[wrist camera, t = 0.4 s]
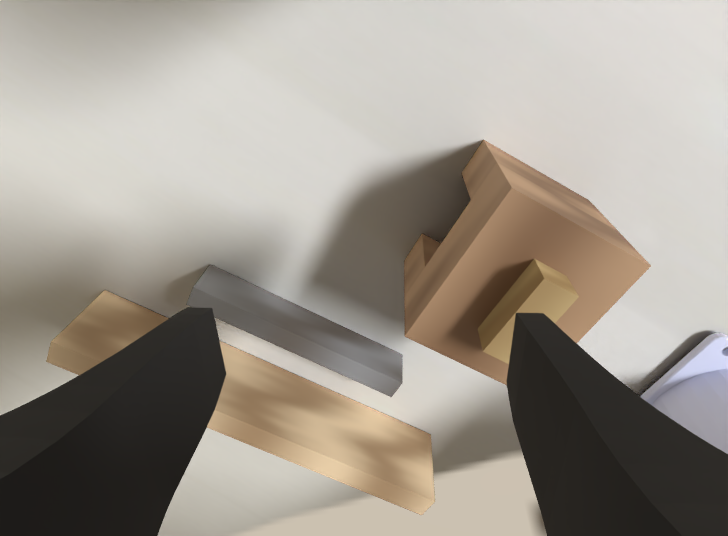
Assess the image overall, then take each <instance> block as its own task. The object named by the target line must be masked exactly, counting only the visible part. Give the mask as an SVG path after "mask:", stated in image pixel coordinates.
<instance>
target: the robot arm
mask: <svg viewBox="0 0 728 536" xmlns="http://www.w3.org/2000/svg"><path fill="white" fill-rule="evenodd" d="M726 347H728V336H727V335H725V334H723V333H714V334H711V335H709V336H708V337H706V338H705V339H704V340H703V341H702V342H701V343H700V344H698V345H697V346H696V347H695V348H694V349H693V350H692V351H690V352H689V353H688V354H687V355H686V356H685V357H684V358H683V359H681V360H680V361H679V362H678V363H677V364H676V365H675V366H674V367H672V368H671V369H670V370H669V371H668V372H667V373H666V374H665V375H663V376H662V377H661V378H660V379H659V380H658V381H657V382H656V383H654V384H653V385H652V386H651V387H650V388H649V389H648V390H646V391H645V392H644V393H643V394H642V395H641V396H639V395H637V394H636V393H635V392H633V391H632V390H631V389H630V388H628V387H627V386H626V385H624V384H623V383H622V382H621V381H619V380H618V379H617V378H616V377H614V376H613V375H612V374H611V373H610V372H608V371H607V370H606V369H605V368H604V367H602V366H601V365H600V364H599V363H598V362H597V361H595V360H594V359H593V358H592V357H591V356H590V355H589V354H587V353H586V352H585V351H584V350H583V349H582V348H581V347H580V346H579V345H578V344H576V343H575V342H574V341H573V340H572V339H571V338H570V337H569V336H568V335H567V334H566V333H565V332H563V331H562V330H561V329H560V328H559V327H558V326H557V325H556V324H555V323H554V322H553V321H552V320H551V319H549V318H548V317H547V316H546V315H545V314H544V313H516V316H515V323H514V330H513V338H512V345H511V352H510V359H509V367H508V374H507V381H506V382H507V388H508V394H509V401H510V406H511V412H512V417H513V422H514V425H515V429H516V432H517V436H518V439H519V442H520V445H521V449H522V452H523V455H524V459H525V461H526V465H527V468H528V471H529V475H530V478H531V481H532V484H533V487H534V491H535V494H536V497H537V500H538V504H539V507H540V510H541V514H542V517H543V521H544V525H545V529H546V533H547V536H728V348H727V349H725V350H723V349H724V348H726ZM225 377H226V370H225V365H224V360H223V356H222V351H221V346H220V342H219V337H218V332H217V328H216V323H215V318H214V314H213V309H212V308H193V307H188V308H186V309H184V310H182V311H181V312H179V313H177V314H176V315H174V316H172V317H171V318H169V319H168V320H166V321H165V322H163V323H161V324H160V325H158V326H157V327H155V328H154V329H152V330H151V331H149V332H148V333H146V334H145V335H143V336H142V337H140V338H139V339H137V340H136V341H134V342H133V343H131V344H129V345H128V346H126V347H125V348H123V349H122V350H120V351H119V352H117V353H116V354H114V355H112V356H111V357H109V358H107V359H106V360H104V361H102V362H101V363H99V364H97V365H96V366H94V367H92V368H91V369H89V370H87V371H86V372H84V373H82V374H81V375H79V376H77V377H76V378H74V379H72V380H70V381H69V382H67V383H65V384H63V385H61V386H60V387H58V388H56V389H54V390H52V391H50V392H48V393H46V394H44V395H42V396H40V397H38V398H36V399H34V400H33V401H31V402H29V403H27V404H25V405H22V406H20V407H18V408H16V409H14V410H12V411H10V412H7V413H5V414H3V415H0V536H157V535H158V532H159V529H160V527H161V524H162V521H163V519H164V516H165V513H166V511H167V509H168V506H169V504H170V502H171V500H172V497H173V495H174V493H175V491H176V489H177V487H178V485H179V483H180V481H181V479H182V476H183V474H184V472H185V470H186V468H187V466H188V464H189V462H190V460H191V458H192V456H193V454H194V452H195V450H196V448H197V446H198V444H199V442H200V440H201V438H202V436H203V434H204V432H205V430H206V427H207V425H208V423H209V421H210V419H211V417H212V415H213V413H214V410H215V408H216V405H217V402H218V399H219V396H220V393H221V390H222V386H223V383H224V380H225Z"/></svg>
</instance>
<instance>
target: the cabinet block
mask: <svg viewBox="0 0 728 536" xmlns="http://www.w3.org/2000/svg"><path fill="white" fill-rule="evenodd" d="M462 176H463V179H464V182H465V185H466V188H467V190H468V193H469V196H470V199H471V201H470V202H469V204H468V205H467V207H466V208H465V209H464V211H463V212H462V214H461V215H460V217H459V218H458V220H457V221H456V223H455V224H454V225H453V227H452V228H451V230H450V231H449V233H448V234H447V236H446V237H445V239H444V240H443V242H442V243H439V242H437V241H436V240H434V239H432V238H430V237H428V236H426V235H424V234H421V236H420V237H419V239H418V240H417V242H416V243H415V245H414V246H413V248H412V250H411V251H410V253H409V254H408V256H407V257H406V259H405V260H404V309H405V337H407V338H409V339H411V340H413V341H415V342H417V343H419V344H422V345H424V346H426V347H428V348H430V349H432V350H434V351H436V352H438V353H440V354H442V355H445V356H447V357H449V358H451V359H453V360H455V361H457V362H459V363H461V364H463V365H466V366H468V367H470V368H472V369H474V370H476V371H478V372H480V373H482V374H484V375H486V376H489V377H491V378H493V379H495V380H497V381H499V382H501V383H503V384H505V385H507V382H506V381H507V374H508V367H509V359H510V352H511V345H512V338H513V330H514V323H515V316H516V313H544V314H545V315H546V316H547V317H548V318H549V319H551V320H552V321H553V322H554V323H555V324H556V325H557V326H558V327H559V328H560V329H561V330H562V331H563V332H565V333H566V334H567V335H568V336H569V337H570V338H571V339H572V340H573V341H574V342H575V343H577V342H578V341H579V340H580V339H581V338H582V337H583V336H584V335H585V334H586V333H587V332H588V331H589V330H590V329H591V328H592V327H593V326H594V325H595V324H596V323H597V322H598V321H599V320H600V318H601V317H602V316H603V315H604V314H605V313H606V312H607V311H608V310H609V309H610V308H611V307H612V306H613V305H614V304H615V303H616V302H617V301H618V300H619V299H620V298H621V297H622V296H623V295H624V294H625V292H626V291H627V290H628V289H629V288H630V287H631V286H632V285H633V284H634V283H635V282H636V281H637V280H638V279H639V278H640V277H641V276H642V275H643V274H644V273H645V272H646V271H647V270H648V269H649V268H650V266H651V265H650V264H649V263H648V262H647V261H646V260H645V259H644V258H643V257H642V256H641V255H640V254H639V253H638V252H637V251H636V249H635V248H634V247H633V246H632V245H631V244H630V243H629V242H628V241H627V240H626V239H625V238H624V237H623V236H622V235H621V234H620V233H619V232H618V230H617V229H616V228H615V227H614V226H613V225H612V224H611V223H610V222H609V221H608V220H607V219H606V218H605V217H604V216H603V215H602V214H601V213H600V211H599V210H598V209H597V208H596V207H595V206H594V205H593V204H592V203H591V202H590V201H589V200H587V199H586V198H584V197H582V196H580V195H579V194H577V193H575V192H574V191H572V190H570V189H568V188H567V187H565V186H563V185H561V184H560V183H558V182H556V181H554V180H553V179H551V178H549V177H547V176H546V175H544V174H542V173H540V172H539V171H537V170H535V169H534V168H532V167H530V166H528V165H527V164H525V163H523V162H521V161H520V160H518V159H516V158H514V157H513V156H511V155H509V154H507V153H506V152H504V151H502V150H500V149H499V148H497V147H495V146H494V145H492V144H490V143H488V142H487V141H485V140H483V141H482V143H481V144H480V146H479V147H478V149H477V150H476V152H475V153H474V155H473V156H472V158H471V159H470V161H469V162H468V164H467V165H466V167H465V169H464V170H463V172H462Z"/></svg>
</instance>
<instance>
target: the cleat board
mask: <svg viewBox="0 0 728 536" xmlns="http://www.w3.org/2000/svg"><path fill="white" fill-rule="evenodd" d="M186 305H188V306H191V307H193V308H212V309H213V314H214V317H215V318H217V319H219V320H222V321H224V322H226V323H228V324H231V325H233V326H235V327H237V328H239V329H242V330H244V331H246V332H248V333H250V334H253V335H255V336H257V337H259V338H262V339H264V340H266V341H268V342H270V343H273V344H275V345H277V346H279V347H281V348H284V349H286V350H288V351H290V352H293V353H295V354H297V355H299V356H301V357H304V358H306V359H308V360H310V361H313V362H315V363H317V364H319V365H321V366H324V367H326V368H328V369H330V370H332V371H335V372H337V373H339V374H341V375H344V376H346V377H348V378H350V379H352V380H355V381H357V382H359V383H361V384H363V385H366V386H368V387H370V388H372V389H375V390H377V391H379V392H381V393H383V394H386V395H388V396H390V397H392V396H393V394H394V393H395V392H396V391H397V389H398V388H399V387H400V385H401V384H402V354H400V353H398V352H395V351H393V350H391V349H389V348H387V347H385V346H383V345H381V344H378V343H376V342H374V341H372V340H370V339H368V338H366V337H364V336H361V335H359V334H357V333H355V332H353V331H351V330H349V329H347V328H344V327H342V326H340V325H338V324H336V323H334V322H332V321H330V320H327V319H325V318H323V317H321V316H319V315H317V314H315V313H313V312H310V311H308V310H306V309H304V308H302V307H300V306H298V305H296V304H293V303H291V302H289V301H287V300H285V299H283V298H281V297H279V296H276V295H274V294H272V293H270V292H268V291H266V290H264V289H261V288H259V287H257V286H255V285H253V284H251V283H249V282H247V281H244V280H242V279H240V278H238V277H236V276H234V275H232V274H230V273H227V272H225V271H223V270H221V269H219V268H217V267H215V266H213V265H209V266H208V268H207V269H206V271H205V272H204V273H203V275H202V276H201V277H200V279H199V280H198V281H197V283H196V284H195V285H194V287H193V289H192V291H191V294H190V296H189V299H188V301H187V304H186ZM168 319H169V318H167V317H164V316H162V315H160V314H158V313H155V312H153V311H151V310H149V309H146V308H144V307H142V306H140V305H137V304H135V303H133V302H131V301H128V300H126V299H124V298H122V297H119V296H117V295H115V294H113V293H110V292H108V291H106V290H104V291H103V292H102V293H101V294H100V295H99V296H98V297H97V298H96V299H95V300H94V301H93V302H92V303H91V304H90V305H89V306H88V307H87V308H86V309H85V310H83V311H82V312H81V313H80V314H79V315H78V316H77V317H76V318H75V319H74V320H73V321H72V322H71V323H70V324H69V325H68V326H67V327H66V328H65V329H64V330H63V331H62V332H61V333H60V334H58V335H57V336H56V337H55V338H54V339H53V340H52V341H51V344H50V348H49V352H48V356H47V360H46V362H48V363H51V364H53V365H56V366H58V367H61V368H63V369H65V370H68V371H70V372H73V373H75V374H78V375H81V374H82V373H84V372H86V371H87V370H89V369H91V368H92V367H94V366H96V365H97V364H99V363H101V362H102V361H104V360H106V359H107V358H109V357H111V356H112V355H114V354H116V353H117V352H119V351H120V350H122V349H123V348H125V347H126V346H128V345H129V344H131V343H133V342H134V341H136V340H137V339H139V338H140V337H142V336H143V335H145V334H146V333H148V332H149V331H151V330H152V329H154V328H155V327H157V326H158V325H160V324H161V323H163V322H165V321H166V320H168ZM219 342H220V346H221V351H222V356H223V360H224V365H225V370H226V377H225V380H224V383H223V386H222V390H221V393H220V396H219V399H218V402H217V405H216V408H215V410H214V413H213V415H212V417H211V419H210V421H209V423H208V425H207V428H210V429H212V430H215V431H217V432H219V433H222V434H224V435H227V436H229V437H232V438H234V439H237V440H239V441H241V442H244V443H246V444H249V445H251V446H254V447H256V448H259V449H261V450H263V451H266V452H268V453H271V454H273V455H276V456H278V457H281V458H283V459H285V460H288V461H290V462H293V463H295V464H298V465H300V466H303V467H305V468H307V469H310V470H312V471H315V472H317V473H320V474H322V475H325V476H327V477H329V478H332V479H334V480H337V481H339V482H342V483H344V484H347V485H349V486H351V487H354V488H356V489H359V490H361V491H364V492H366V493H369V494H371V495H373V496H376V497H378V498H381V499H383V500H386V501H388V502H391V503H393V504H396V505H398V506H400V507H403V508H405V509H408V510H410V511H413V512H415V513H417V514H420V515H422V514H423V513H424V512H425V511H426V510H427V509H428V508H429V507H430V506H431V505H432V504H433V503H434V502H435V494H434V477H433V462H432V446H431V434H428V433H426V432H424V431H422V430H419V429H417V428H415V427H413V426H410V425H408V424H406V423H404V422H401V421H399V420H397V419H395V418H392V417H390V416H388V415H386V414H383V413H381V412H379V411H377V410H374V409H372V408H370V407H368V406H365V405H363V404H361V403H359V402H356V401H354V400H352V399H350V398H347V397H345V396H343V395H340V394H338V393H336V392H334V391H331V390H329V389H327V388H325V387H322V386H320V385H318V384H316V383H313V382H311V381H309V380H307V379H304V378H302V377H300V376H298V375H295V374H293V373H291V372H289V371H286V370H284V369H282V368H280V367H277V366H275V365H273V364H271V363H268V362H266V361H264V360H262V359H259V358H257V357H255V356H252V355H250V354H248V353H246V352H243V351H241V350H239V349H237V348H234V347H232V346H230V345H228V344H225V343H223V342H221V341H219Z"/></svg>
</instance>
